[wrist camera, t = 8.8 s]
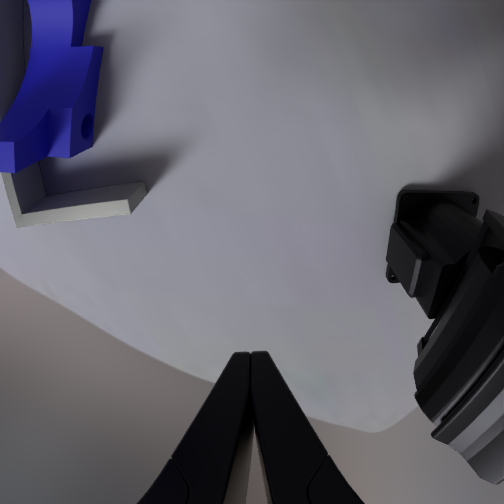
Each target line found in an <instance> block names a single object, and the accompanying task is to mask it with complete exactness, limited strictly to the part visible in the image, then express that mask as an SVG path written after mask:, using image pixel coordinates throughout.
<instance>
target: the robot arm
mask: <svg viewBox="0 0 504 504" xmlns="http://www.w3.org/2000/svg"><path fill="white" fill-rule="evenodd" d="M406 196H407V197H408V198H407V200H406V201H405V202H403V199H404V197H406ZM473 198H474V199H473ZM472 199H473V201H472ZM471 201H472V202H471ZM478 205H479V196H478V195H477V194H476V193H474V192H464V191H426V190H404V191H401V192H400V193H399V194H398V196H397V201H396V210H395V218H394V223H393V224H392V226H391V229H390V236H389V243H388V249H387V256H386V261H387V262H388V265H387V270H386V278H387V280H388V281H389V282H390V283H401V284H402V286H403V288H404V289H405V291H406V292H407V294H408V295H409V296H410V297H411V298H414V297H416V299H417V301H418V302H419V304H420V305H421V307H422V309H423V310H424V312H425V314H426V315H427V317H428V318H429V319H435V320H434V322H433V323H432V325H431V327H430V328H429V330H428V331H427V333H426V335H425V336H424V337H422V338H421V340H420V341H419V343H418V344H417V349H418V358H417V359H416V361H415V367H414V373H413V374H414V379H415V384H416V389H417V391H416V392H415V395H414V396H415V399H416V401H417V403H418V404H419V406H420V408H421V410H422V411H423V413H424V414H425V415H426V416H427V417H428V419H429V420H430V421H431V422H432V423H433V424H435V425H436V426H437V428H435V429H434V430H433V431H432V433H431V436H432V438H434V439H436V440H438V441H440V442H443V443H445V444H447V445H449V446H450V447H451V448H453V449H454V450H455V451H457V452H458V453H459V454H461V455H462V457H463V458H464V459H465V460H466V461H467V462H468V463H469V465H470V466H471V467H472V468H473V470H474V471H475V472H476V473H477V475H478V476H479V477H480V478H482V479H484V480H486V481H488V482H490V483H493V484H499V483H501V482H502V481H504V216H503V215H500V214H498V213H495V212H493V211H490V210H487V209H486V211H485V214H484V216H483V220H484V221H483V223H482V222H481V221H479V220H478V219H477V218H476V215H477V210H478ZM393 274H395V275H394V276H393V277H391V276H392V275H393ZM254 427H255V434H256V441H257V447H258V453H259V458H260V464H261V469H262V475H263V481H264V486H265V492H266V497H267V503H268V504H365V503H364V502H363V501H362V500H361V499H360V497H359V496H358V495H357V494H356V492H355V491H354V490H353V489H352V488H351V486H350V485H349V484H348V482H347V481H346V479H345V478H344V476H343V475H342V474H341V472H340V471H339V470H338V468H337V466H336V465H335V463H334V461H333V460H332V458H331V457H330V456H329V455H328V452H327V450H326V449H325V447H324V446H323V444H322V442H321V441H320V439H319V437H318V436H317V434H316V432H315V431H314V429H313V427H312V426H311V424H310V423H309V421H308V419H307V417H306V416H305V414H304V412H303V411H302V409H301V407H300V406H299V404H298V402H297V401H296V399H295V397H294V396H293V394H292V392H291V391H290V389H289V387H288V385H287V384H286V382H285V380H284V379H283V377H282V375H281V373H280V372H279V370H278V368H277V367H276V365H275V363H274V361H273V360H272V358H271V356H270V354H269V353H268V352H267V351H253V352H252V353H251V354H250V352H235V353H233V355H232V356H231V358H230V360H229V361H228V363H227V365H226V367H225V368H224V370H223V372H222V373H221V375H220V377H219V378H218V380H217V382H216V383H215V385H214V387H213V389H212V390H211V392H210V394H209V395H208V397H207V399H206V400H205V402H204V404H203V405H202V407H201V408H200V410H199V412H198V414H197V415H196V417H195V418H194V420H193V422H192V423H191V425H190V426H189V428H188V430H187V431H186V433H185V435H184V436H183V438H182V440H181V441H180V443H179V444H178V446H177V448H176V449H175V451H174V452H173V454H172V455H171V458H172V459H169V460H168V461H167V463H166V465H165V466H164V468H163V469H162V471H161V473H160V474H159V475H158V477H157V478H156V480H155V481H154V483H153V484H152V485H151V487H150V488H149V489H148V491H147V492H146V493H145V494H144V495H143V497H142V498H141V499H140V500H139V502H138V503H137V504H246V497H247V489H248V481H249V472H250V464H251V456H252V447H253V438H254Z"/></svg>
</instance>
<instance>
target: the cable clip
mask: <svg viewBox="0 0 504 504" xmlns="http://www.w3.org/2000/svg"><path fill="white" fill-rule="evenodd" d="M28 3H29V8H30V13H31V21H32V40H31V49H30V56H29V61H28V65H27V69H26V73H25V76H24V79H23V82H22V85H21V87H20V90H19V92H18V94H17V96H16V98H15V101H14V102H13V104H12V106H11V108H10V109H9V111H8V112H7V114H6V115H5V117H4V118H3V119H2V121H1V122H0V172H5V173H17V172H18V171H20V170H22V169H24V168H26V167H28V166H30V165H32V164H34V163H35V162H37V161H39V160H41V159H43V158H45V157H47V156H48V157H61V158H71V157H73V156H75V155H77V154H79V153H81V152H83V151H85V150H87V149H89V148H91V147H92V144H93V129H94V116H95V106H96V96H97V88H98V80H99V72H100V66H101V59H102V53H103V47H98V46H82V41H83V36H84V31H85V26H86V21H87V16H88V12H89V7H90V3H91V0H28Z"/></svg>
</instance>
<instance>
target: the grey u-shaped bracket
mask: <svg viewBox="0 0 504 504" xmlns="http://www.w3.org/2000/svg"><path fill="white" fill-rule="evenodd" d="M24 76H25V65H24V47H23V0H0V122H1V121H2V119H3V118H4V117H5V115H6V114H7V112H8V111H9V109H10V108H11V106H12V104H13V102H14V101H15V98H16V96H17V94H18V92H19V90H20V87H21V85H22V82H23V79H24ZM1 173H2V177H3V181H4V185H5V189H6V193H7V196H8V200H9V203H10V207H11V210H12V214H13V217H14V220H15V223H16V226H17V228H19V227H26V226H33V225H41V224H48V223H56V222H64V221H72V220H80V219H89V218H98V217H107V216H117V215H126V214H131V213H132V212H133V211H134V209H135V208H136V207H137V206H138V205H139V203H140V202H141V201H142V200H143V199H144V197H145V196H146V195H147V190H146V184H145V181H143V182H135V183H127V184H120V185H112V186H105V187H98V188H92V189H85V190H79V191H73V192H67V193H61V194H55V195H50V196H46V193H45V189H44V185H43V180H42V176H41V172H40V167H39V163H38V161H37V162H35V163H34V164H32V165H30V166H28V167H26V168H24V169H22V170H20V171H18V172H17V173H5V172H1Z"/></svg>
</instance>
